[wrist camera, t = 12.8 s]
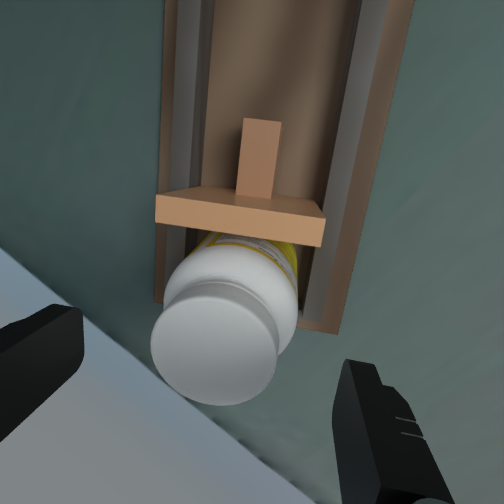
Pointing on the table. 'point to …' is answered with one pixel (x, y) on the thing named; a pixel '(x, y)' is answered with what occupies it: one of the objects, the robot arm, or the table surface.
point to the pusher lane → (281, 119)
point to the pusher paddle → (248, 197)
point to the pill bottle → (227, 318)
